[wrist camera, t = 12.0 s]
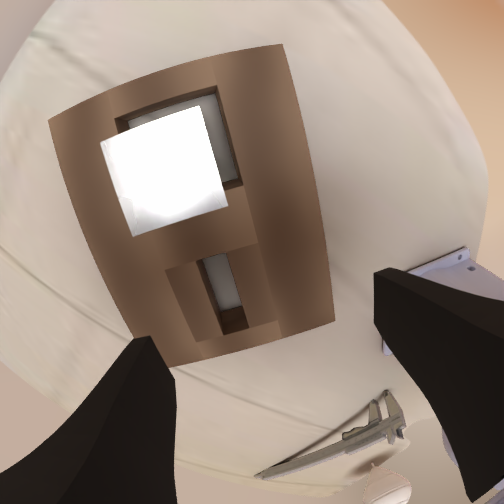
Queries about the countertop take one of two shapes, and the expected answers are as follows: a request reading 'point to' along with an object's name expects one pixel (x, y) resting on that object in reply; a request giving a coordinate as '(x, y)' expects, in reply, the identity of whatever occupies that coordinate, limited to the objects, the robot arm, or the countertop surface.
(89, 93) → the countertop surface
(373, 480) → the spinning top
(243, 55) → the socket block
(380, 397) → the countertop surface
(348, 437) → the caliper
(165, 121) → the peg
